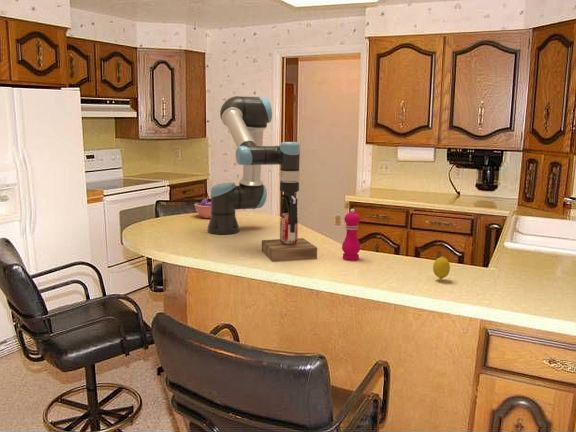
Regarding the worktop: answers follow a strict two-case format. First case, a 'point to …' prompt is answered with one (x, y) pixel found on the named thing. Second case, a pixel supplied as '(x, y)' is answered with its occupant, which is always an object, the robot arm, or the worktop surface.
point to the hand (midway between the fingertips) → (288, 238)
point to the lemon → (441, 267)
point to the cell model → (204, 209)
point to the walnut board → (289, 250)
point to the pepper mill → (351, 237)
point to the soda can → (286, 230)
